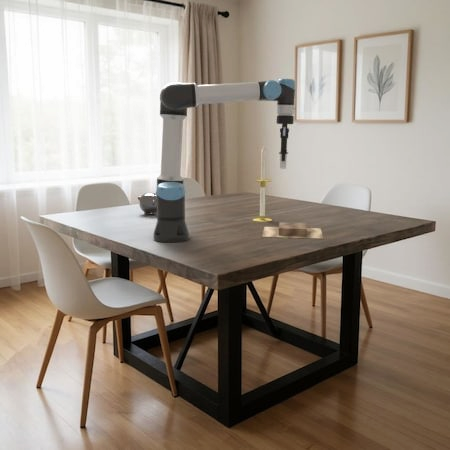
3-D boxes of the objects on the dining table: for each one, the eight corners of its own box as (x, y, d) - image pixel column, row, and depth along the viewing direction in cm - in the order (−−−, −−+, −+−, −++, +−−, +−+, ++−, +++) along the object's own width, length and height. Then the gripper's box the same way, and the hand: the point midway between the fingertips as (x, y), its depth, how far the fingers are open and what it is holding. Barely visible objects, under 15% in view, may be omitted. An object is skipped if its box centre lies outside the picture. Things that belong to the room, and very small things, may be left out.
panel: (279, 229, 249) (278, 235, 235) (279, 222, 248) (278, 228, 235) (305, 229, 248) (306, 236, 234) (305, 223, 247) (306, 229, 233)
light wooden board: (262, 237, 233) (262, 236, 233) (264, 227, 254) (264, 226, 254) (323, 239, 230) (323, 238, 230) (320, 229, 251) (320, 228, 251)
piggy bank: (163, 216, 281) (162, 194, 279) (135, 215, 283) (134, 194, 281) (168, 213, 292) (167, 192, 290) (141, 212, 294) (140, 191, 292)
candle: (261, 218, 279) (262, 144, 272) (276, 220, 272) (278, 145, 265) (248, 220, 272) (249, 145, 265) (263, 223, 265) (264, 145, 258)
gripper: (293, 115, 233) (291, 169, 237) (293, 115, 246) (291, 167, 250) (276, 114, 234) (273, 169, 238) (277, 115, 247) (275, 167, 251)
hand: (282, 168), depth 244 cm, fingers closed
